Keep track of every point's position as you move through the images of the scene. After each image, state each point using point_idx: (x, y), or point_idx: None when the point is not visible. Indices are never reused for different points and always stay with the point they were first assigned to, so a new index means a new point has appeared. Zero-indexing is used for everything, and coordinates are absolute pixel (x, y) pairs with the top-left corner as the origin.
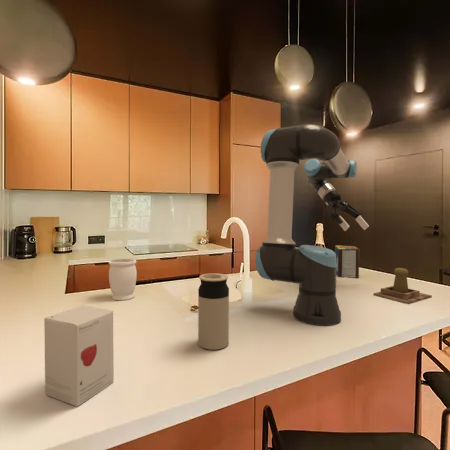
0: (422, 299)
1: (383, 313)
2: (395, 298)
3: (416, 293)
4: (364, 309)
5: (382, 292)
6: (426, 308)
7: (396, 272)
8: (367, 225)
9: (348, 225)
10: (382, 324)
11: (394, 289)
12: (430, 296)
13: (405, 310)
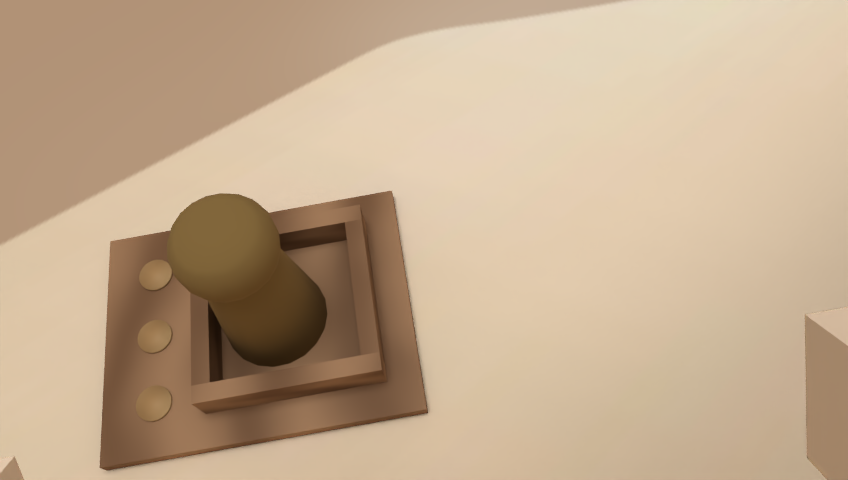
0: None
1: (666, 132)
2: (394, 264)
3: None
4: (726, 205)
5: (383, 362)
6: (371, 123)
7: (276, 246)
8: (1, 476)
9: (836, 333)
10: (787, 38)
11: (310, 314)
12: (128, 241)
13: (509, 132)
